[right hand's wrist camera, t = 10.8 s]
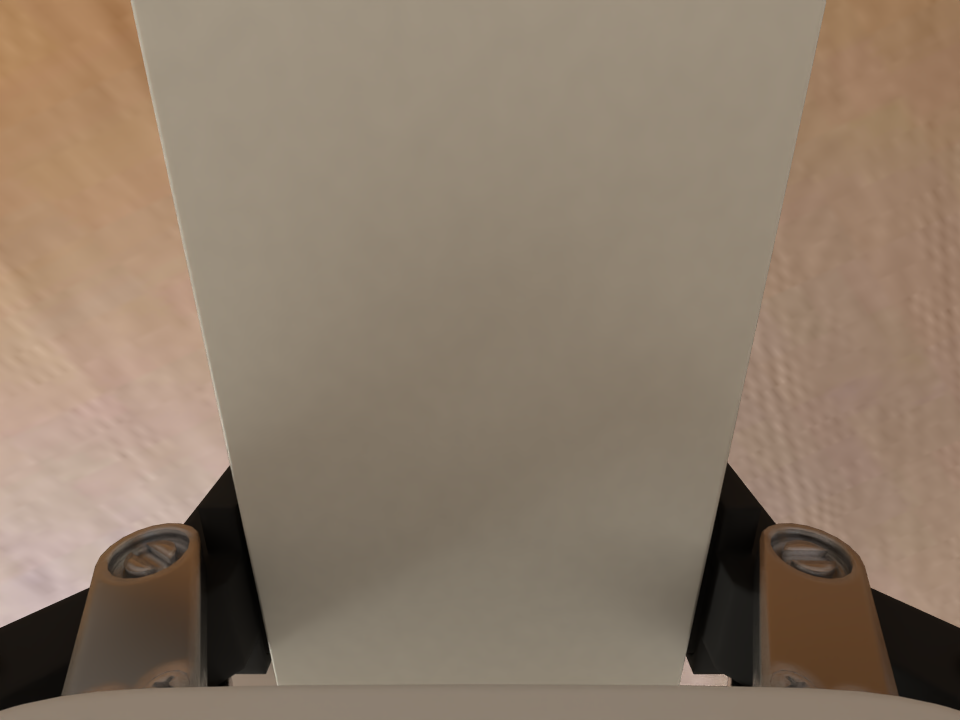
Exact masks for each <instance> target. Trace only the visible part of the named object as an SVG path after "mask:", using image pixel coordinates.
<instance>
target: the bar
mask: <svg viewBox="0 0 960 720" xmlns="http://www.w3.org/2000/svg"><path fill="white" fill-rule="evenodd" d="M131 4H132V9H133V14H134V18H135V23H136V28H137V32H138V37H139V42H140V46H141V51H142V56H143V60H144V65H145V70H146V74H147V79H148V84H149V88H150V93H151V98H152V102H153V107H154V112H155V116H156V121H157V126H158V130H159V135H160V140H161V145H162V149H163V154H164V159H165V163H166V168H167V173H168V177H169V182H170V187H171V191H172V196H173V201H174V205H175V210H176V215H177V219H178V224H179V229H180V233H181V238H182V243H183V247H184V252H185V257H186V261H187V266H188V271H189V275H190V280H191V285H192V289H193V294H194V299H195V303H196V308H197V313H198V317H199V322H200V327H201V331H202V336H203V341H204V346H205V350H206V355H207V360H208V364H209V369H210V374H211V378H212V383H213V388H214V392H215V397H216V402H217V406H218V411H219V416H220V420H221V425H222V430H223V434H224V439H225V444H226V448H227V453H228V458H229V462H230V467H231V472H232V476H233V481H234V486H235V490H236V495H237V500H238V504H239V509H240V514H241V518H242V523H243V528H244V533H245V537H246V542H247V547H248V551H249V556H250V561H251V565H252V570H253V575H254V579H255V584H256V589H257V593H258V598H259V603H260V607H261V612H262V617H263V621H264V626H265V631H266V635H267V640H268V645H269V649H270V654H271V659H272V663H273V668H274V673H275V677H276V682H277V685H417V684H543V685H679V684H680V680H681V675H682V670H683V666H684V661H685V656H686V652H687V647H688V642H689V638H690V633H691V628H692V624H693V619H694V614H695V610H696V605H697V601H698V596H699V591H700V587H701V582H702V577H703V573H704V568H705V563H706V559H707V554H708V549H709V545H710V540H711V535H712V531H713V526H714V521H715V517H716V512H717V507H718V503H719V498H720V493H721V489H722V484H723V479H724V475H725V470H726V466H727V461H728V456H729V452H730V447H731V442H732V438H733V433H734V428H735V424H736V419H737V414H738V410H739V405H740V400H741V396H742V391H743V386H744V382H745V377H746V372H747V368H748V363H749V358H750V354H751V349H752V344H753V340H754V335H755V331H756V326H757V321H758V317H759V312H760V307H761V303H762V298H763V293H764V289H765V284H766V279H767V275H768V270H769V265H770V261H771V256H772V251H773V247H774V242H775V237H776V233H777V228H778V223H779V219H780V214H781V209H782V205H783V200H784V196H785V191H786V186H787V182H788V177H789V172H790V168H791V163H792V158H793V154H794V149H795V144H796V140H797V135H798V130H799V126H800V121H801V116H802V112H803V107H804V102H805V98H806V93H807V88H808V84H809V79H810V74H811V70H812V65H813V61H814V56H815V51H816V47H817V42H818V37H819V33H820V28H821V23H822V19H823V14H824V9H825V5H826V0H131Z"/></svg>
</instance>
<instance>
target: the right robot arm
mask: <svg viewBox="0 0 960 720" xmlns="http://www.w3.org/2000/svg"><path fill="white" fill-rule="evenodd" d="M686 657H687V659H688V662H689V664H690V667H691V669H692V672H693V674H725V675H727V676H728V681H727V686H683V685H543V684H417V685H277V682H276V677H275V673H274V668H273V663H272V659H271V654H270V649H269V645H268V640H267V635H266V631H265V626H264V621H263V617H262V612H261V607H260V603H259V598H258V593H257V589H256V584H255V579H254V575H253V570H252V565H251V561H250V556H249V551H248V547H247V542H246V537H245V533H244V528H243V523H242V518H241V514H240V509H239V504H238V500H237V495H236V490H235V486H234V481H233V476H232V472H231V467H230V466H229V467H228V468H227V470H226V471H225V472H224V474H223V475H222V476H221V477H220V479H219V480H218V481H217V482H216V484H215V485H214V486H213V488H212V489H211V490H210V491H209V493H208V494H207V495H206V496H205V498H204V499H203V500H202V501H201V503H200V504H199V505H198V507H197V508H196V509H195V510H194V512H193V513H192V514H191V515H190V517H189V518H188V519H187V521H186V522H185V523H184V524H179V523H167V524H160V525H154V526H150V527H147V528H144V529H141V530H138V531H136V532H134V533H132V534H129V535H127V536H125V537H123V538H122V539H120V540H119V541H117V542H116V543H114V544H113V545H111V546H110V547H109V548H108V549H107V550H106V551H105V552H104V553H103V554H102V555H101V556H100V558H99V560H98V562H97V564H96V566H95V569H94V573H93V577H92V581H91V585H90V588H88V589H85V590H83V591H81V592H79V593H77V594H74V595H72V596H70V597H68V598H65V599H63V600H61V601H59V602H57V603H54V604H52V605H50V606H48V607H45V608H43V609H41V610H39V611H37V612H34V613H32V614H30V615H28V616H26V617H23V618H21V619H19V620H17V621H14V622H12V623H10V624H8V625H6V626H3V627H1V628H0V720H960V628H959V627H956V626H954V625H952V624H950V623H948V622H945V621H943V620H941V619H939V618H936V617H934V616H932V615H930V614H928V613H925V612H923V611H921V610H919V609H916V608H914V607H912V606H910V605H908V604H905V603H903V602H901V601H899V600H896V599H894V598H892V597H890V596H888V595H885V594H883V593H881V592H879V591H877V590H874V589H872V588H870V585H869V581H868V577H867V573H866V569H865V566H864V564H863V562H862V560H861V558H860V556H859V555H858V554H857V553H856V552H855V551H854V550H853V549H852V548H851V547H850V546H849V545H847V544H846V543H844V542H843V541H841V540H840V539H838V538H837V537H835V536H833V535H831V534H828V533H826V532H824V531H822V530H819V529H816V528H813V527H810V526H806V525H800V524H793V523H781V524H775V522H774V521H773V520H772V519H771V517H770V516H769V515H768V513H767V512H766V511H765V510H764V508H763V507H762V506H761V505H760V503H759V502H758V501H757V499H756V498H755V497H754V496H753V494H752V493H751V492H750V491H749V489H748V488H747V487H746V485H745V484H744V483H743V482H742V480H741V479H740V478H739V477H738V475H737V474H736V473H735V471H734V470H733V469H732V468H731V466H730V465H729V464H728V463H727V466H726V470H725V475H724V479H723V484H722V489H721V493H720V498H719V503H718V507H717V512H716V517H715V521H714V526H713V531H712V535H711V540H710V545H709V549H708V554H707V559H706V563H705V568H704V573H703V577H702V582H701V587H700V591H699V596H698V601H697V605H696V610H695V614H694V619H693V624H692V628H691V633H690V638H689V642H688V647H687V652H686Z"/></svg>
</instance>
